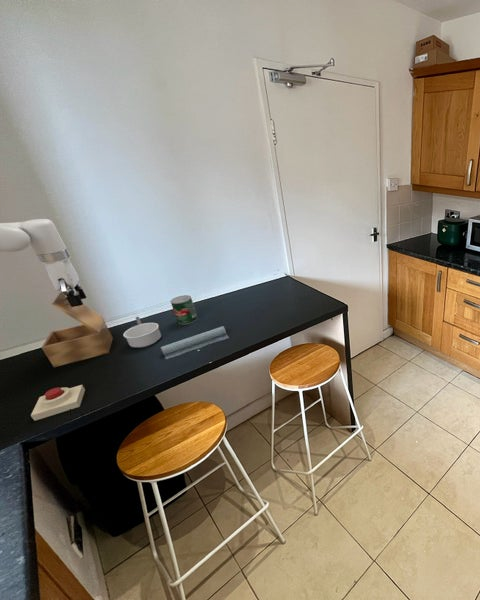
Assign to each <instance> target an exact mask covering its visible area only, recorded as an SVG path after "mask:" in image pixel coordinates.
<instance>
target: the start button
mask: <svg viewBox="0 0 480 600" xmlns="http://www.w3.org/2000/svg"><path fill="white" fill-rule="evenodd" d="M61 388H62V387H54V388H51V389H49V390H47V391H46V392H45V393H44V395H45V396H46V398H47V399H48V400H52V399H55V398H57V397H59V396H61V395H62V394H63V393H64V392H63V391H62V389H61Z"/></svg>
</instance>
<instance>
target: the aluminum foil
mask: <svg viewBox="0 0 480 600" xmlns="http://www.w3.org/2000/svg"><path fill="white" fill-rule="evenodd" d="M227 339H230V337H229V336H228V334H227V330H226V328H225V326H224V325H222V326H219V327H216V328H214V329H211V330H207V331H204V332H202V333H199V334H195V335H192V336H189V337H186V338H184V339H181V340H178V341H175V342H172V343H168V344H165V345H163V346H161V347H160V350H161V353H162V355H163V356H164V358H165V360H169V359H171V358H175V357H179V356H181V355H183V354H186V353H189V352H191V351H194V350H197V349H198V350H199V349H201V348H203V347H206V346H208V345H210V344H214V343H216V342H221V341H224V340H227Z"/></svg>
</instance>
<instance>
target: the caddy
mask: <svg viewBox="0 0 480 600" xmlns="http://www.w3.org/2000/svg"><path fill="white" fill-rule="evenodd" d="M113 340H114V338H113V335H112V333H111V331H110V329H109V327H108V325H107V323H106V321H105V320H104V321H103V324H102V326H101V329H100V332H99V333H98V334H97V333H96V332H94V331H93V330H91V329H89V328H88V327H86V326H85V325H83V324H79V325H74V326H70V327H65V328H61V329H55V330H51V331H50V333H49V334H48V336H47V337H46V339H45V341H44V342H43V344H42V346H41V349H42V351H43V353H44V354H45V356H46V357H47V358H48V360H49V363H51V366H52V367H53V368H56V367H60V366H64V365H69V364H72V363H76V362H80V361H84V360H87V359H91V358H95V357H98V356H102V355H107V354H109V353H110V350H111V346H112V343H113Z"/></svg>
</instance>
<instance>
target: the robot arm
mask: <svg viewBox="0 0 480 600" xmlns="http://www.w3.org/2000/svg"><path fill="white" fill-rule="evenodd" d="M30 246H31V248H32V250H33V251H34V253H35V255H36V257H37V258H38V260H39V262H40V264H42V265H44V268H45V271H46V273H47V275H48V278H49V279H50V281H51V283H52V285H53V288H54V289H55V291H58V292H59V291H62V293H64V294H65V297H66V298H67V300H68V302H69V304H70V305H71V307H75V306H80V305H83V304H84V303H83V300H85V299H87V295H86V294H85V292H84V289H83V288H82V286H81V284H80V283H79V281H80V277H79V274H78V273H77V271H76V269H75V267H74V265H73V264H72V262H71V258H72V256H71V254H70V252H69V249H68V248H67V246H66V245H65V242H64V241H63V238H62V237H61V235H60V233H59V231H58V228H57V227H56V225H55V223H54V222H53V221H52V220H51V219H48V218H37V219H36V218H35V219H29V220H25V221H17V222H16V221H15V222H0V252H7V253H8V252H9V253H10V252H12V253H13V252H21V251H24V250H25V249H27V248H28V247H30ZM76 291H78V292H79V295H77V294H76Z"/></svg>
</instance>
